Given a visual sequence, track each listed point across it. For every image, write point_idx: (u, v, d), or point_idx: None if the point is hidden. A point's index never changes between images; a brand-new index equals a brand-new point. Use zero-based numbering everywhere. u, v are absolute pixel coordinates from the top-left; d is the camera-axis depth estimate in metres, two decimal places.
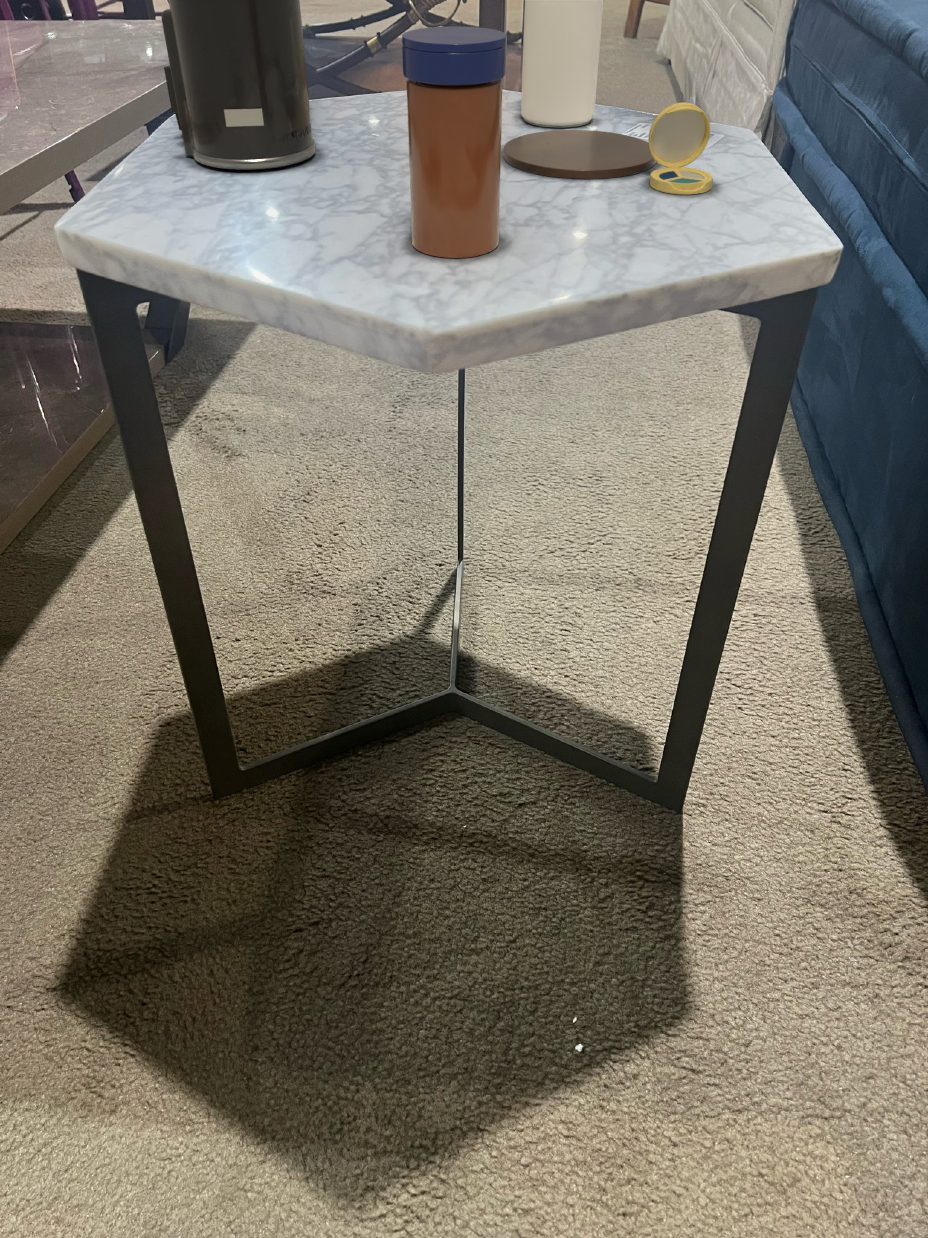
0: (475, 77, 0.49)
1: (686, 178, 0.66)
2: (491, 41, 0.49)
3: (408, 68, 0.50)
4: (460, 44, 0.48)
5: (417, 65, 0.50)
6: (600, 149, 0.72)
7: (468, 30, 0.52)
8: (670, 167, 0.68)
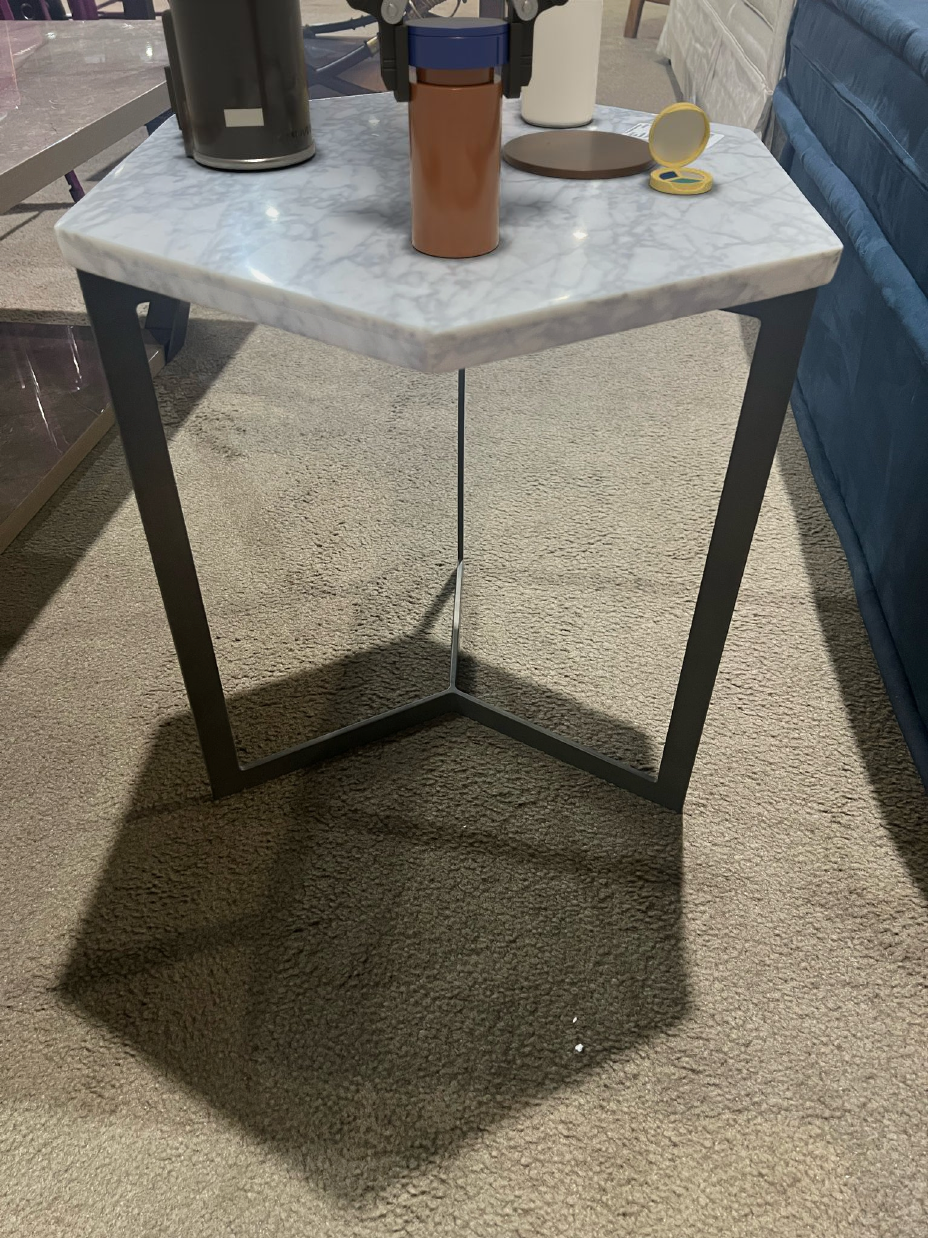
0: None
1: (686, 178, 0.66)
2: (424, 18, 0.52)
3: None
4: (455, 17, 0.53)
5: None
6: (600, 149, 0.72)
7: (438, 24, 0.49)
8: (670, 167, 0.68)
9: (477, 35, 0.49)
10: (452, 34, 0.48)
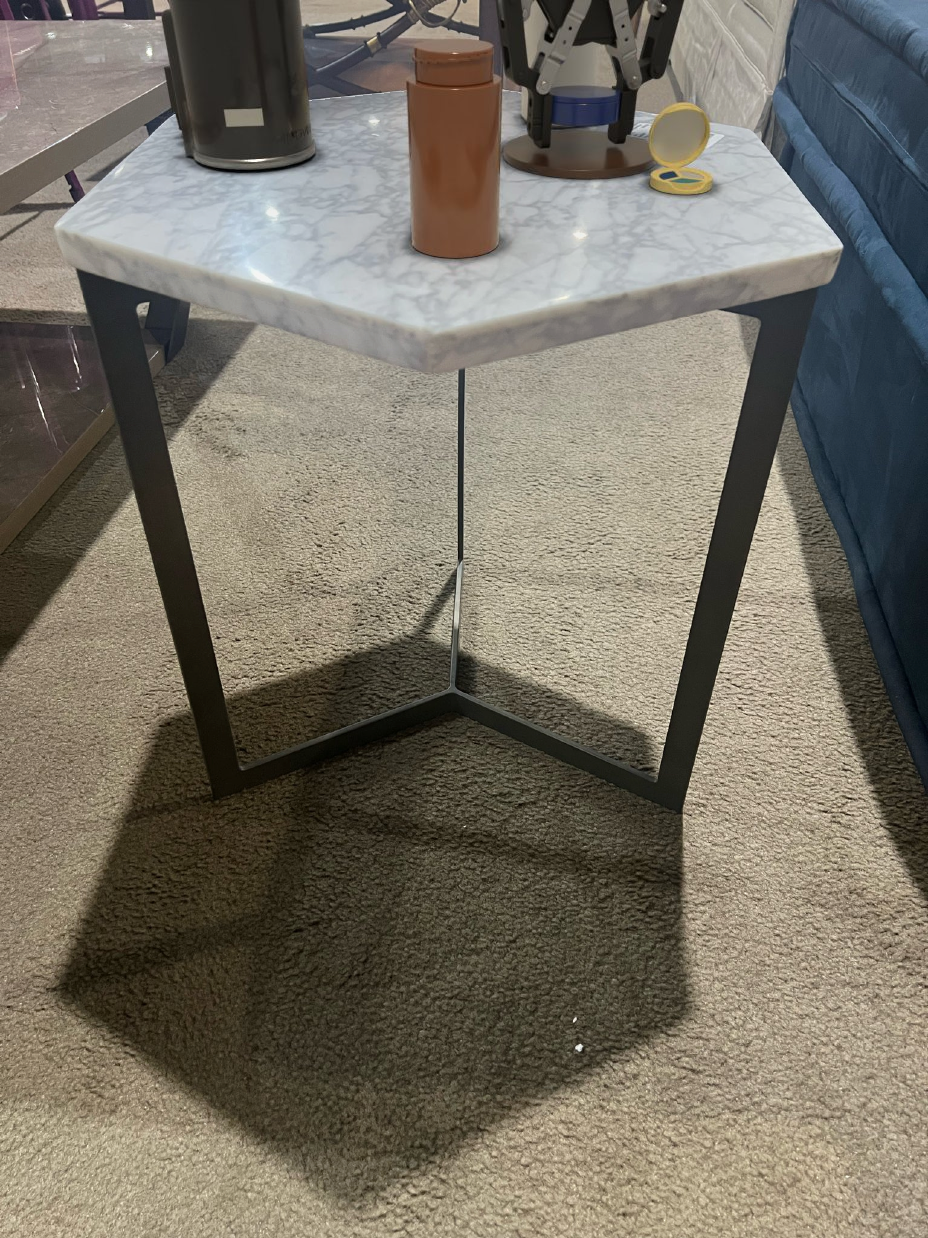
0: None
1: (686, 178, 0.66)
2: (555, 87, 0.72)
3: None
4: None
5: None
6: (600, 149, 0.72)
7: (573, 94, 0.69)
8: (670, 167, 0.68)
9: (604, 102, 0.68)
10: (587, 102, 0.68)
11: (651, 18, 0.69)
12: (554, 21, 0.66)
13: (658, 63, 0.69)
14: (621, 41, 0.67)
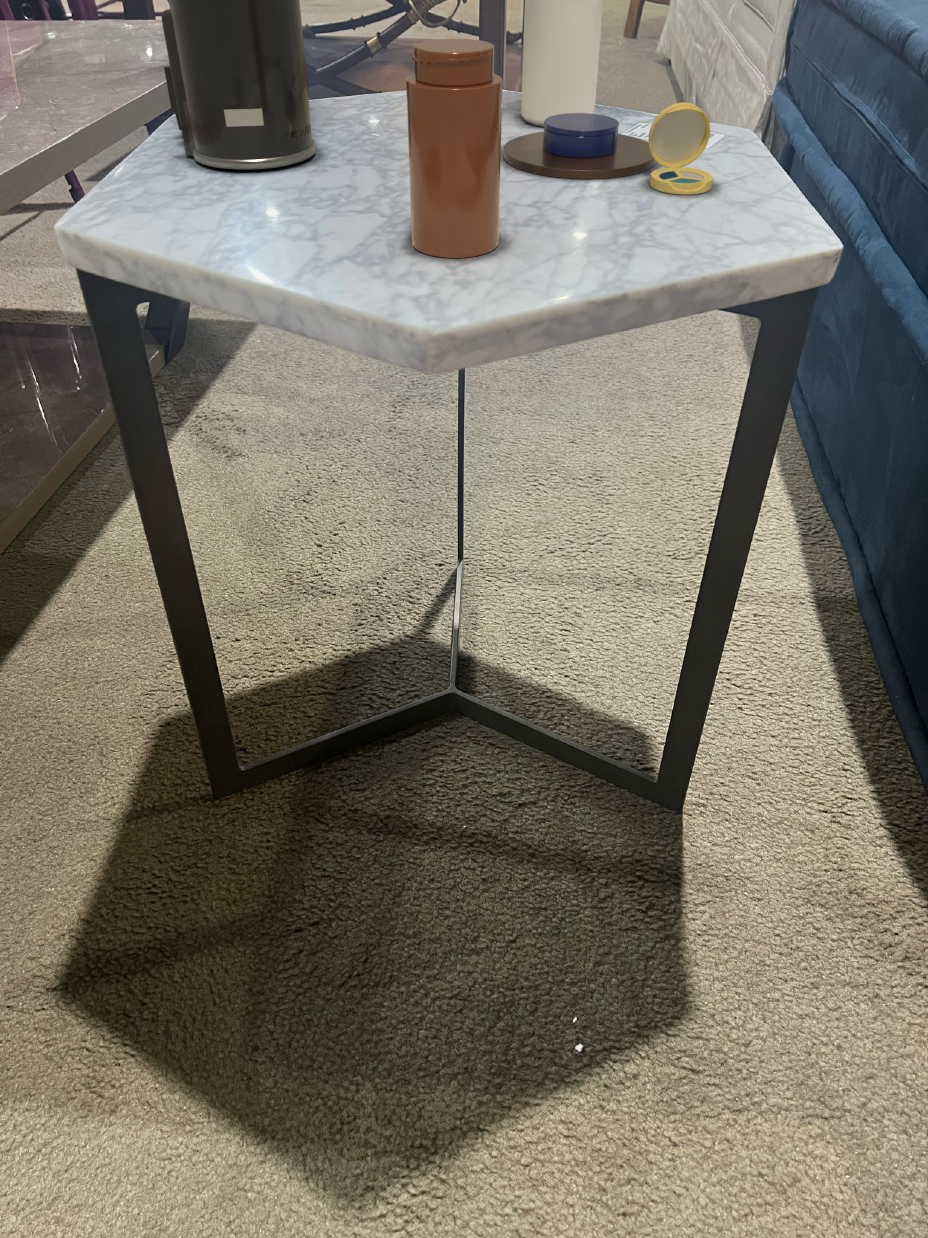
0: None
1: (686, 178, 0.66)
2: (554, 115, 0.73)
3: None
4: (575, 113, 0.73)
5: None
6: None
7: (572, 125, 0.70)
8: (670, 167, 0.68)
9: (602, 135, 0.70)
10: (585, 134, 0.69)
11: None
12: None
13: None
14: None
